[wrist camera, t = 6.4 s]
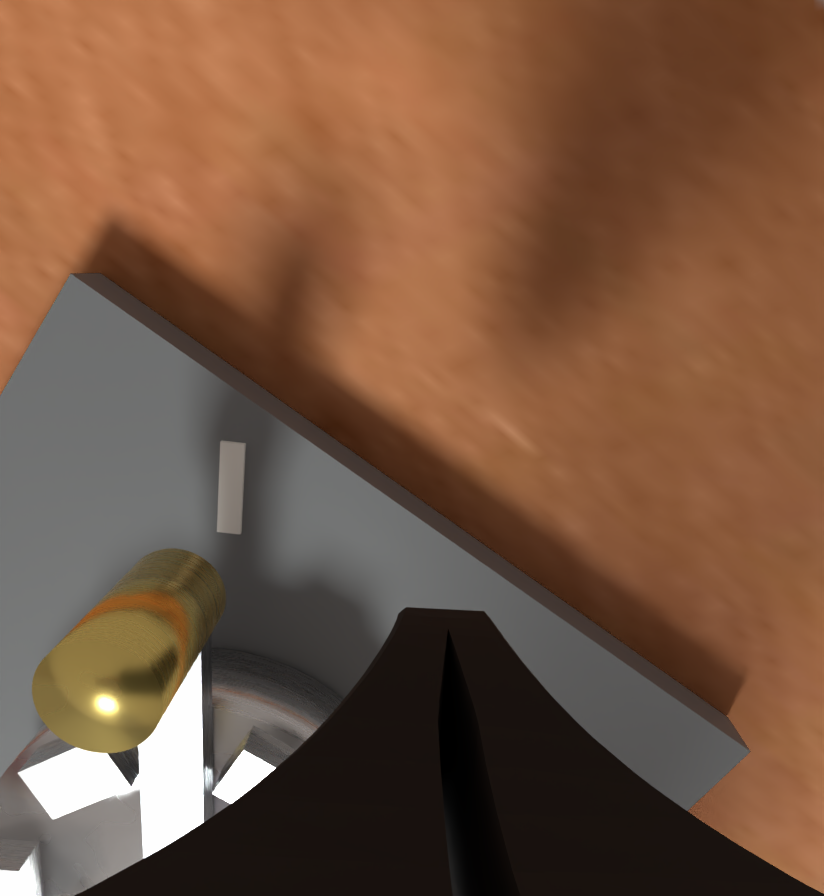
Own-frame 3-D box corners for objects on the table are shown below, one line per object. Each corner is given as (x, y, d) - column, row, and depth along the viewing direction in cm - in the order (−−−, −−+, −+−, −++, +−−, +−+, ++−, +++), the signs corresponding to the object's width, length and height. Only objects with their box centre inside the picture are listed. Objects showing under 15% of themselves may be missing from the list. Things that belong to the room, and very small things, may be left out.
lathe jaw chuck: (390, 966, 17) (375, 1254, 12) (44, 940, 17) (-113, 1217, 12) (427, 521, 14) (427, 666, 9) (0, 489, 14) (-241, 614, 9)
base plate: (320, 1110, 21) (314, 1165, 19) (-223, 822, 18) (-272, 863, 17) (727, 717, 16) (752, 754, 15) (100, 273, 14) (68, 273, 13)
